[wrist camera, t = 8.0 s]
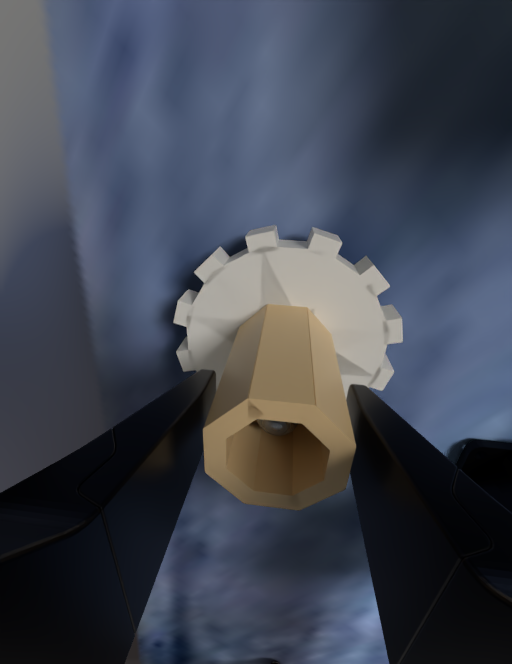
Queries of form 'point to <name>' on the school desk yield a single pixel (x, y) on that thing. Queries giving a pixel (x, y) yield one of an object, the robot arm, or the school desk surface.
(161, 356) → the school desk surface
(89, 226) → the school desk surface
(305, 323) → the gear
